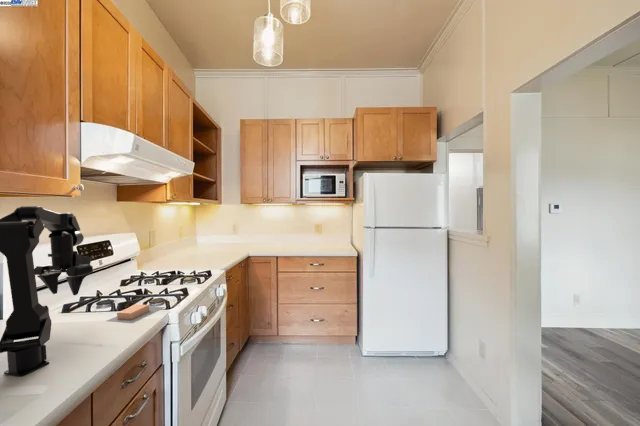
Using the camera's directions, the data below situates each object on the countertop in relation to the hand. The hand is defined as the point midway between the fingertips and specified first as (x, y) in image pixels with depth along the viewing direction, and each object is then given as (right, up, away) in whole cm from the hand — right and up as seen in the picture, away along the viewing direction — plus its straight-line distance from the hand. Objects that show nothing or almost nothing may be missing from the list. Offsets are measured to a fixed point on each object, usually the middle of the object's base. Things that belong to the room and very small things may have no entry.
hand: (65, 294), depth 100 cm
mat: (+16, -12, +14) cm, 24 cm away
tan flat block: (+14, -11, +9) cm, 20 cm away
